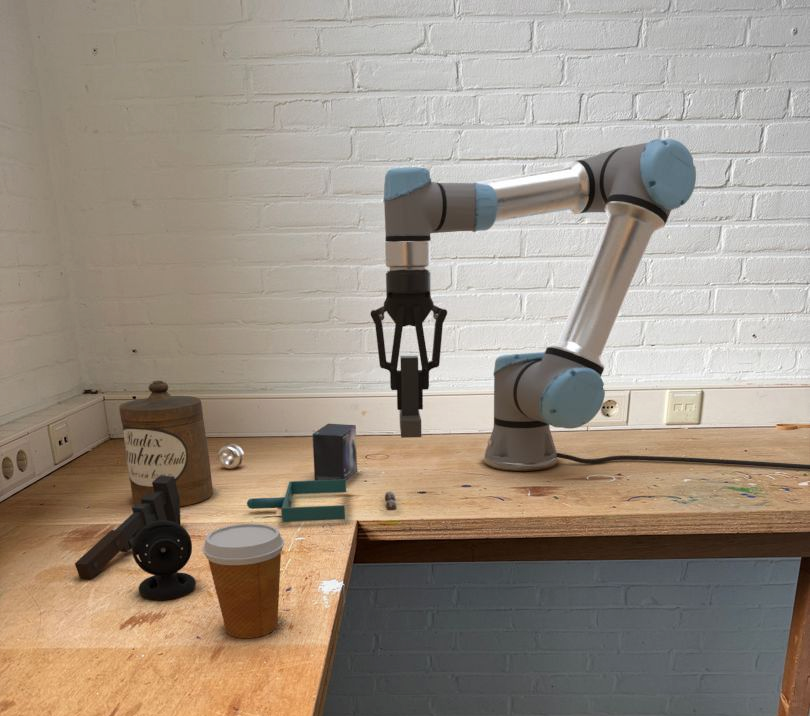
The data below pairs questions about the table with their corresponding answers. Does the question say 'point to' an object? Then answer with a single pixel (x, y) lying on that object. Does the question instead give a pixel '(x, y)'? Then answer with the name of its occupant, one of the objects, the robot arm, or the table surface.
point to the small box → (335, 452)
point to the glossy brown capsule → (390, 505)
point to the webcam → (163, 559)
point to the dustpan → (305, 512)
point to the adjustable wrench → (133, 526)
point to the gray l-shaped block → (409, 398)
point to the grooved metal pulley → (226, 456)
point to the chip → (389, 496)
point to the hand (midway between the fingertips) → (409, 408)
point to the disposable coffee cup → (246, 576)
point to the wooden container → (166, 444)
